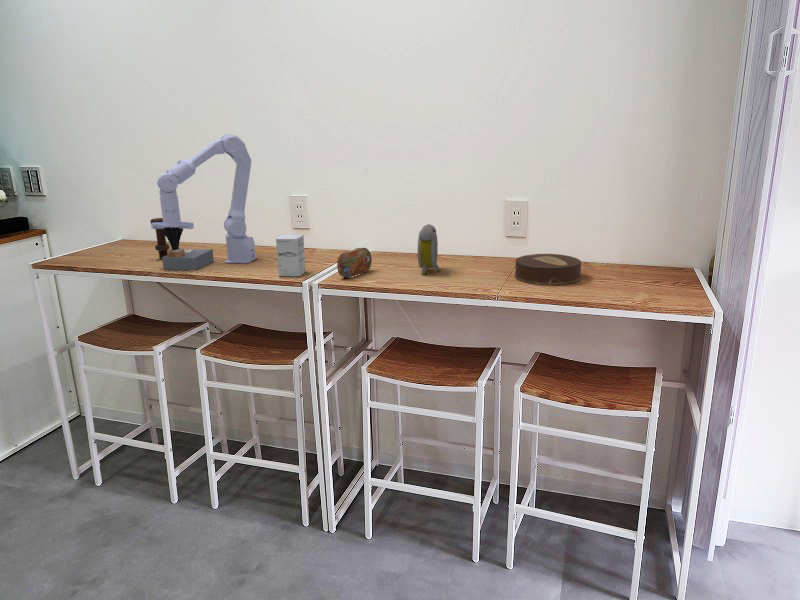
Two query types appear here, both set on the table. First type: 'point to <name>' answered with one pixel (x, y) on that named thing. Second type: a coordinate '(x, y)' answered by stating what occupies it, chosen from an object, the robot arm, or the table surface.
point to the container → (548, 269)
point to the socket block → (189, 260)
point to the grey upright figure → (427, 248)
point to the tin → (354, 262)
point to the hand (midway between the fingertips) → (175, 249)
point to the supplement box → (290, 255)
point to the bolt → (160, 240)
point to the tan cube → (176, 252)
